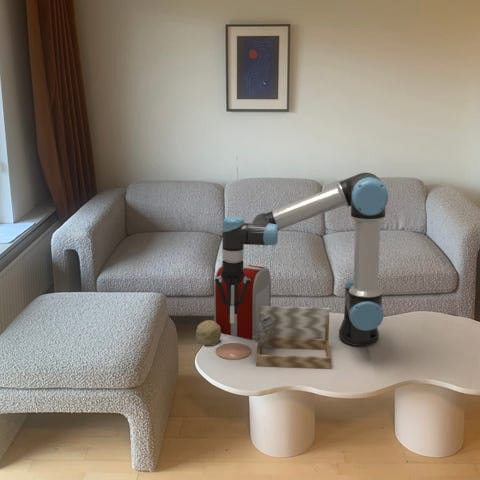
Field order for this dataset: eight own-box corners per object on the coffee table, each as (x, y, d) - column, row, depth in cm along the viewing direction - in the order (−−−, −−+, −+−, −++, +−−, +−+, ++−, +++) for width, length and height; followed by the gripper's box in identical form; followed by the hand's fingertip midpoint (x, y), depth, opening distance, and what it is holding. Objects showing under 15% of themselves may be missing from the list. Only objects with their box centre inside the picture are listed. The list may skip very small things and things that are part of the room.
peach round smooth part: (252, 345, 249) (252, 343, 249) (249, 360, 237) (249, 358, 237) (217, 344, 250) (217, 342, 250) (213, 359, 238) (213, 357, 238)
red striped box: (254, 342, 252) (254, 275, 245) (213, 334, 259) (212, 269, 252) (271, 327, 266) (272, 263, 259) (231, 319, 273) (231, 257, 266)
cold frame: (328, 348, 247) (329, 308, 242) (330, 368, 230) (332, 326, 226) (258, 345, 249) (258, 306, 244) (256, 366, 232) (256, 323, 228)
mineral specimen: (279, 329, 245) (270, 326, 247) (278, 312, 240) (268, 309, 242) (258, 354, 235) (248, 350, 237) (256, 337, 231) (246, 333, 233)
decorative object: (208, 355, 248) (224, 336, 245) (187, 339, 248) (202, 319, 245) (213, 347, 257) (228, 328, 254) (193, 330, 257) (208, 312, 254)
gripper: (251, 257, 237) (250, 318, 244) (215, 256, 238) (215, 317, 244) (250, 263, 230) (249, 326, 236) (213, 262, 231) (213, 325, 237)
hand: (232, 321), depth 240 cm, fingers closed
